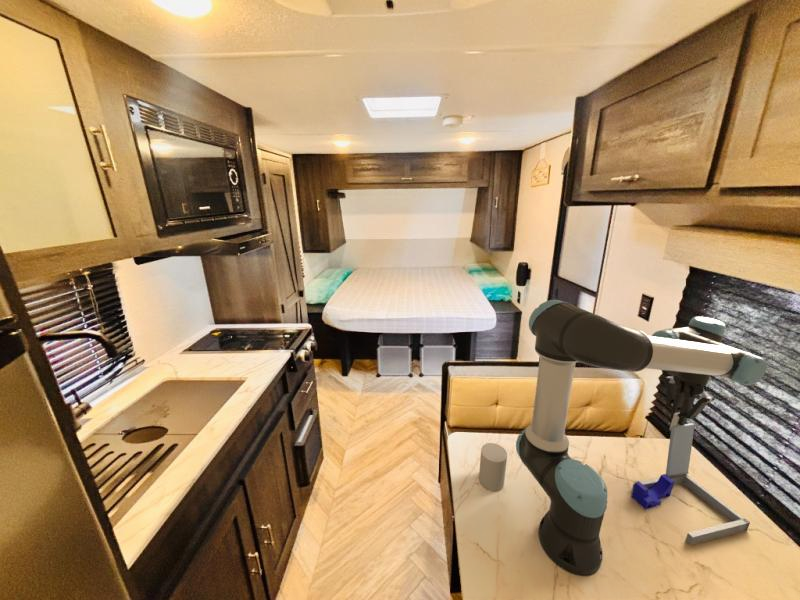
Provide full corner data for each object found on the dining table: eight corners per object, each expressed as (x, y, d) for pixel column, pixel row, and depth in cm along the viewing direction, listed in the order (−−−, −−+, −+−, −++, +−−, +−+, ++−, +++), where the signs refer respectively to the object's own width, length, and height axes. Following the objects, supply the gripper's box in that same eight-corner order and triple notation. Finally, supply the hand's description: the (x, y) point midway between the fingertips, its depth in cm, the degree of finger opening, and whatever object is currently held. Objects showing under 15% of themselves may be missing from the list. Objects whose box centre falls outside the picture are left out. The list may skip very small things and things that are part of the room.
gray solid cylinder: (494, 468, 108) (497, 440, 105) (509, 487, 101) (512, 458, 97) (474, 474, 106) (476, 446, 102) (487, 494, 98) (490, 464, 95)
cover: (674, 428, 97) (668, 424, 98) (668, 478, 100) (662, 474, 101) (695, 424, 98) (688, 421, 100) (688, 474, 101) (681, 470, 103)
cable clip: (645, 510, 93) (649, 494, 91) (631, 497, 97) (635, 482, 96) (674, 500, 96) (679, 485, 94) (660, 488, 100) (664, 474, 98)
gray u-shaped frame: (689, 545, 83) (692, 537, 82) (631, 490, 99) (633, 482, 99) (746, 530, 87) (750, 522, 86) (681, 479, 103) (684, 472, 102)
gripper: (729, 376, 88) (705, 442, 95) (681, 355, 100) (664, 415, 107) (708, 379, 87) (686, 446, 94) (663, 358, 99) (646, 419, 106)
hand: (674, 430), depth 101 cm, fingers closed
